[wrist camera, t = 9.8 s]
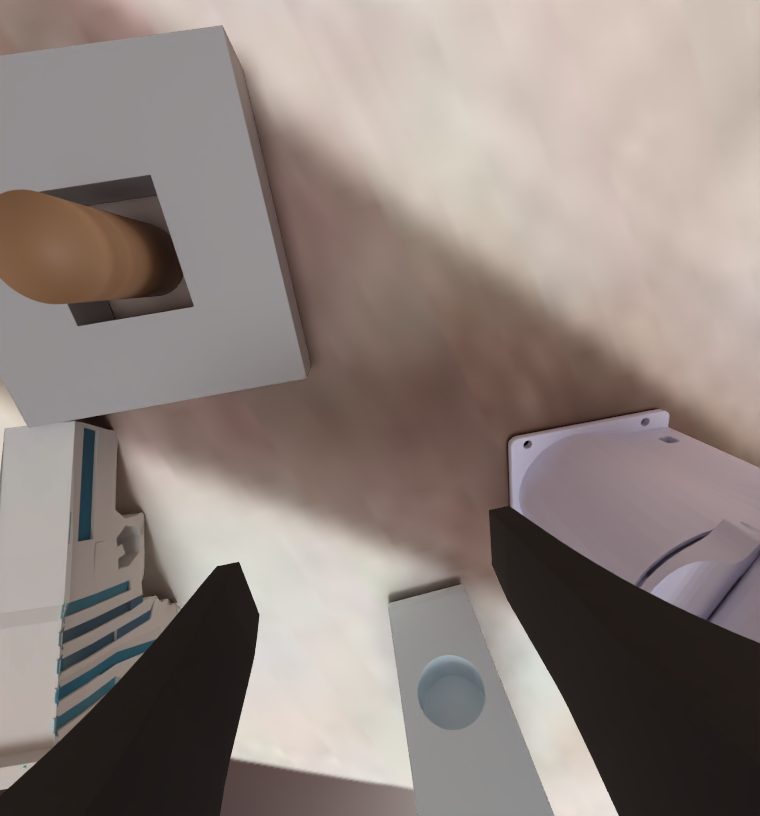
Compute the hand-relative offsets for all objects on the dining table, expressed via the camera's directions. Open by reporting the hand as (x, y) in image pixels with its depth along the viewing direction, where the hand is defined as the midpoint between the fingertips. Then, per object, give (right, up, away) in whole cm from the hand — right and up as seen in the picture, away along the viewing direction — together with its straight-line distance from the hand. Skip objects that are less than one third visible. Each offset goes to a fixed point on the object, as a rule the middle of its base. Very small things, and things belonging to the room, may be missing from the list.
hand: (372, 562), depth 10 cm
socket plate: (-10, +11, +6) cm, 16 cm away
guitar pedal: (+6, -18, +18) cm, 26 cm away
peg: (-10, +11, +6) cm, 16 cm away
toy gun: (-14, -3, +11) cm, 18 cm away
